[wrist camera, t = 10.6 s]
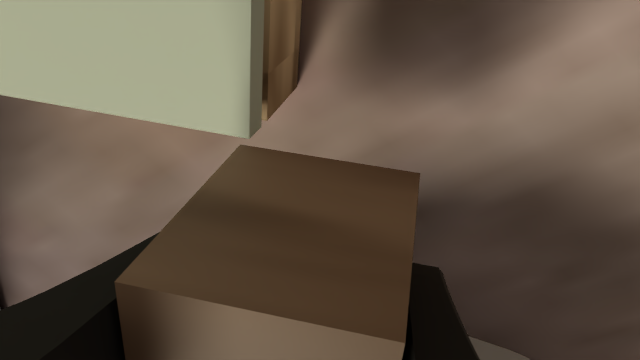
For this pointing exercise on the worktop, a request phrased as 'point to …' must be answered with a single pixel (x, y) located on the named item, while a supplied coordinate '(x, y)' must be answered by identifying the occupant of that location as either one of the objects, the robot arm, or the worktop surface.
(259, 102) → the lid
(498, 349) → the lumpy-topped squat cylinder
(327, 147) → the worktop surface
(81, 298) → the robot arm
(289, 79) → the box
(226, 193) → the walnut block
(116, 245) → the worktop surface
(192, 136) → the worktop surface
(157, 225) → the worktop surface
